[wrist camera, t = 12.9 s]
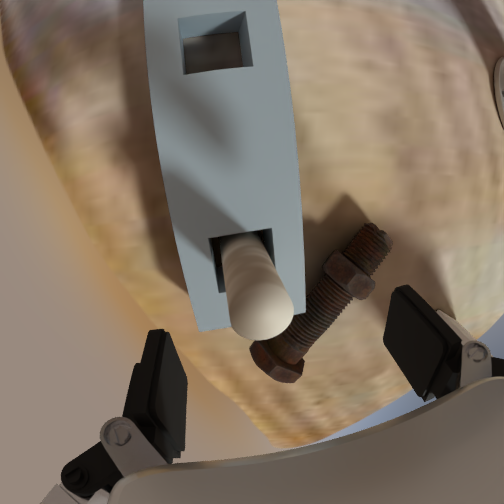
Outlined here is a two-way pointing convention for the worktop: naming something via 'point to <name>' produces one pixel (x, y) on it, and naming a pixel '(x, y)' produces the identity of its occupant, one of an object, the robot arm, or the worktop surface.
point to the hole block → (226, 144)
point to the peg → (253, 288)
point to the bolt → (324, 304)
